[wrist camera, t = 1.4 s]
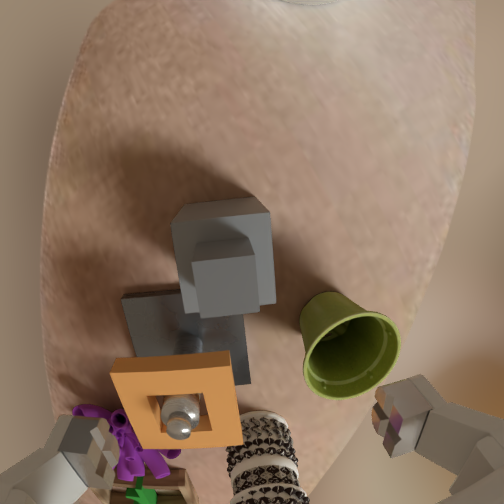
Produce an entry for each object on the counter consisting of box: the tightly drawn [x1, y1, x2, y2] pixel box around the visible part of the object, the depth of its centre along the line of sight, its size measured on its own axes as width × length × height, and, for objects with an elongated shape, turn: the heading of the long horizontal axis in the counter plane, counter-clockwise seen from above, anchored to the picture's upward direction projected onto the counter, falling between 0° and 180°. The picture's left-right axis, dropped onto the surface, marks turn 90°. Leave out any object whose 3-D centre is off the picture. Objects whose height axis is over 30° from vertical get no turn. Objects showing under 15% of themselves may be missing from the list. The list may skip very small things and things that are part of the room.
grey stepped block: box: [170, 197, 276, 318], centre depth 24 cm, size 7×7×13 cm
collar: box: [110, 350, 244, 449], centre depth 23 cm, size 9×9×2 cm
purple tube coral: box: [72, 404, 181, 481], centre depth 33 cm, size 11×15×10 cm
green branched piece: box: [126, 476, 158, 504], centre depth 39 cm, size 10×4×4 cm, turn 2°
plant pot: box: [299, 292, 401, 400], centre depth 30 cm, size 9×9×9 cm
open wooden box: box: [89, 467, 199, 504], centre depth 39 cm, size 10×17×4 cm, turn 95°
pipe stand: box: [121, 289, 251, 440], centre depth 27 cm, size 12×12×14 cm
